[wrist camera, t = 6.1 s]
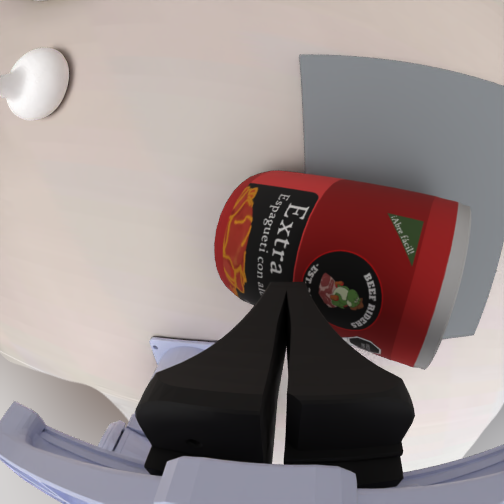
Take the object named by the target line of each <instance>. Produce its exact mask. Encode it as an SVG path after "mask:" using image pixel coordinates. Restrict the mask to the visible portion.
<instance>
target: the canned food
mask: <svg viewBox="0 0 504 504" xmlns="http://www.w3.org/2000/svg"><path fill="white" fill-rule="evenodd" d="M470 229H471V210H470V206H466V205H463V204H461V203H459V202H456V201H452V200H448V199H443V198H440V197H437V196H433V195H428V194H423V193H419V192H414V191H409V190H404V189H399V188H394V187H388V186H383V185H377V184H371V183H366V182H360V181H353V180H347V179H341V178H334V177H327V176H320V175H312V174H304V173H296V172H288V171H268V172H264V173H260V174H257V175H254V176H251V177H249V178H248V179H246V180H245V181H244V182H242V183H241V184H240V185H239V186H238V187H237V188H236V189H235V190H234V191H233V193H232V194H231V196H230V198H229V199H228V201H227V202H226V204H225V206H224V209H223V211H222V213H221V215H220V218H219V222H218V225H217V229H216V236H215V243H214V246H215V261H216V267H217V270H218V273H219V275H220V278H221V280H222V281H223V283H224V284H225V285H226V287H227V288H228V289H230V290H231V291H232V292H233V293H234V294H235V295H236V296H237V297H239V298H240V299H241V300H243V301H245V302H248V303H250V304H252V305H255V304H256V303H257V302H258V300H259V299H260V297H261V296H262V295H263V293H264V292H265V290H266V288H267V287H268V285H269V284H270V283H271V282H304V283H305V284H306V286H307V289H308V291H309V293H310V295H311V297H312V299H313V300H314V302H315V304H316V305H317V307H318V309H319V310H320V312H321V313H322V315H323V316H324V317H325V319H326V320H327V321H328V323H329V324H330V325H331V326H332V328H333V329H334V330H335V331H336V332H337V333H338V334H339V335H340V336H341V337H342V338H343V340H345V341H346V342H347V343H348V344H350V345H352V346H355V347H357V348H360V349H363V350H365V351H368V352H371V353H373V354H376V355H379V356H381V357H384V358H387V359H389V360H393V361H396V362H399V363H402V364H405V365H408V366H411V367H416V368H421V369H424V370H425V369H426V368H427V367H428V366H429V365H430V363H431V362H432V360H433V358H434V356H435V354H436V352H437V350H438V347H439V345H440V343H441V340H442V338H443V336H444V333H445V330H446V328H447V325H448V322H449V319H450V316H451V313H452V310H453V307H454V304H455V301H456V297H457V294H458V290H459V287H460V283H461V279H462V275H463V270H464V266H465V261H466V256H467V250H468V244H469V237H470Z"/></svg>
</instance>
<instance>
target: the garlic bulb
mask: <svg viewBox="0 0 504 504" xmlns="http://www.w3.org/2000/svg"><path fill="white" fill-rule="evenodd" d="M68 81H69V68H68V63H67V61H66V59H65V58H64V56H63V55H62V54H61V53H60V52H59V51H57V50H55V49H53V48H48V47H43V48H37V49H34V50H31V51H30V52H28V53H26V54H25V55H23V56H22V57H21V58H20V59H19V60H18V61H17V62H16V64H15V65H14V66H13V68H12V70H11V72H10V73H8V74H5V75H2V76H0V97H2V98H6V99H7V103H8V105H9V107H10V109H11V111H12V112H13V113H14V114H15V115H16V116H18V117H20V118H22V119H25V120H38V119H42V118H44V117H46V116H48V115H49V114H51V113H52V112H53V111H54V110H55V109H56V108H57V107H58V106H59V104H60V103H61V101H62V100H63V97H64V95H65V93H66V90H67V86H68Z"/></svg>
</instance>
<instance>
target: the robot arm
mask: <svg viewBox="0 0 504 504" xmlns="http://www.w3.org/2000/svg"><path fill="white" fill-rule="evenodd" d="M150 345H151V348H152V351H153V354H154V357H155V359H156V362H157V365H158V366H157V368H156V370H155V372H154V374H153V376H152V378H151V380H150V382H149V384H148V386H147V388H146V389H145V391H144V393H143V395H142V397H141V400H140V402H139V404H138V406H137V408H136V411H135V413H134V414H132V416H131V418H130V420H129V422H128V425H127V427H125V423H124V422H122V421H121V420H119V421H117V422H114V423H111V424H110V425H109V426H108V428H107V429H106V431H105V433H104V435H103V436H102V438H101V440H100V442H99V444H98V446H95V445H92V444H90V443H87V442H84V441H82V440H79V439H77V438H74V437H72V436H70V435H67V434H65V433H63V432H60V431H58V430H55V429H53V428H51V427H49V426H47V425H46V424H45V422H44V421H43V420H42V418H41V417H40V416H39V415H38V414H37V413H36V412H35V411H33V410H32V409H30V408H28V407H26V406H24V405H22V404H20V403H18V402H16V401H14V402H13V403H12V405H11V406H10V408H9V409H8V410H7V412H6V413H5V415H4V416H3V418H2V419H1V420H0V460H1V461H2V462H4V463H5V464H6V465H7V466H8V467H9V468H10V469H12V470H13V471H14V472H15V473H16V474H17V475H19V476H20V477H21V478H22V479H24V480H25V481H27V482H28V483H30V484H31V485H33V486H35V487H36V488H37V489H39V490H41V491H42V492H44V493H45V494H47V495H49V496H51V497H52V498H54V499H56V500H57V501H59V502H61V503H63V504H504V444H503V445H501V446H498V447H496V448H493V449H490V450H488V451H484V452H481V453H479V454H475V455H473V456H469V457H466V458H463V459H459V460H456V461H452V462H449V463H445V464H441V465H437V466H433V467H428V468H424V469H419V470H414V471H409V472H404V473H403V471H402V464H401V458H400V456H401V455H402V454H403V448H402V442H401V441H402V439H403V438H404V436H405V434H406V433H407V431H408V429H409V428H410V426H411V424H412V422H413V419H414V417H415V413H414V407H413V404H412V400H411V397H410V395H409V393H408V391H407V388H406V386H405V384H404V382H403V380H402V379H401V378H399V377H398V376H396V375H394V374H392V373H390V372H388V371H386V370H384V369H382V368H380V367H379V366H377V365H376V364H374V363H372V362H371V361H369V360H368V359H366V358H365V357H364V356H362V355H361V354H360V353H358V352H357V351H356V350H355V349H354V348H352V347H351V346H350V345H349V344H348V343H347V342H346V341H345V340H343V338H342V337H341V336H340V335H339V334H338V333H337V332H336V331H335V330H334V329H333V328H332V326H331V325H330V324H329V323H328V321H327V320H326V319H325V317H324V316H323V315H322V313H321V312H320V310H319V309H318V307H317V305H316V304H315V302H314V300H313V299H312V297H311V295H310V293H309V291H308V289H307V286H306V284H305V283H304V282H271V283H270V284H269V285H268V287H267V288H266V290H265V292H264V293H263V295H262V296H261V297H260V299H259V300H258V302H257V303H256V304H255V305H254V307H253V308H252V309H251V310H250V312H249V313H248V314H247V315H246V316H245V317H244V318H243V319H242V320H241V321H240V322H239V323H238V324H237V325H236V326H235V327H234V328H233V329H232V330H231V331H230V332H229V333H228V334H226V335H225V336H224V337H223V338H221V339H220V340H219V341H217V342H202V341H189V340H178V339H167V338H158V337H152V338H151V339H150ZM286 346H287V361H288V388H287V412H286V438H285V452H284V465H282V464H272V458H273V446H274V435H275V423H276V411H277V399H278V392H279V386H280V381H281V375H282V370H283V364H284V358H285V352H286Z"/></svg>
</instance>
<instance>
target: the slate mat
mask: <svg viewBox="0 0 504 504" xmlns="http://www.w3.org/2000/svg"><path fill="white" fill-rule="evenodd" d="M299 58H300V72H301V87H302V104H303V126H304V153H305V174H312V175H320V176H327V177H334V178H341V179H347V180H353V181H360V182H366V183H371V184H377V185H383V186H388V187H394V188H399V189H404V190H409V191H414V192H419V193H423V194H428V195H433V196H437V197H440V198H443V199H448V200H452V201H456V202H459V203H461V204H463V205H466V206H470V210H471V229H470V237H469V244H468V250H467V256H466V261H465V266H464V270H463V275H462V279H461V283H460V287H459V290H458V294H457V297H456V301H455V304H454V307H453V310H452V313H451V316H450V319H449V322H448V325H447V328H446V330H445V333H444V336H443V338H442V339H448V338H456V337H464V336H471V335H474V333H475V331H476V328H477V326H478V323H479V321H480V318H481V315H482V313H483V310H484V307H485V304H486V301H487V298H488V295H489V292H490V289H491V286H492V283H493V280H494V276H495V273H496V269H497V266H498V262H499V258H500V254H501V250H502V246H503V242H504V86H502V85H499V84H496V83H493V82H490V81H487V80H483V79H480V78H476V77H473V76H469V75H465V74H462V73H458V72H454V71H449V70H445V69H440V68H436V67H431V66H425V65H420V64H414V63H408V62H402V61H395V60H387V59H378V58H369V57H357V56H341V55H299ZM349 345H350V344H349ZM350 346H352V345H350Z"/></svg>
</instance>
